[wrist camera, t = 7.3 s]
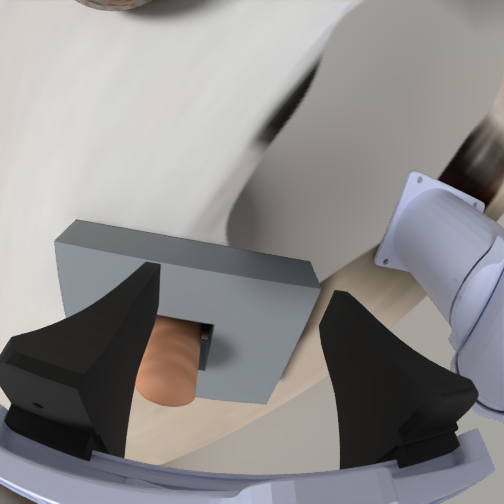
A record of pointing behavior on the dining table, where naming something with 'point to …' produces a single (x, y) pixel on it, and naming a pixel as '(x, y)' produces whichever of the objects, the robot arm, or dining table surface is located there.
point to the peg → (170, 362)
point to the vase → (113, 4)
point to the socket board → (201, 299)
